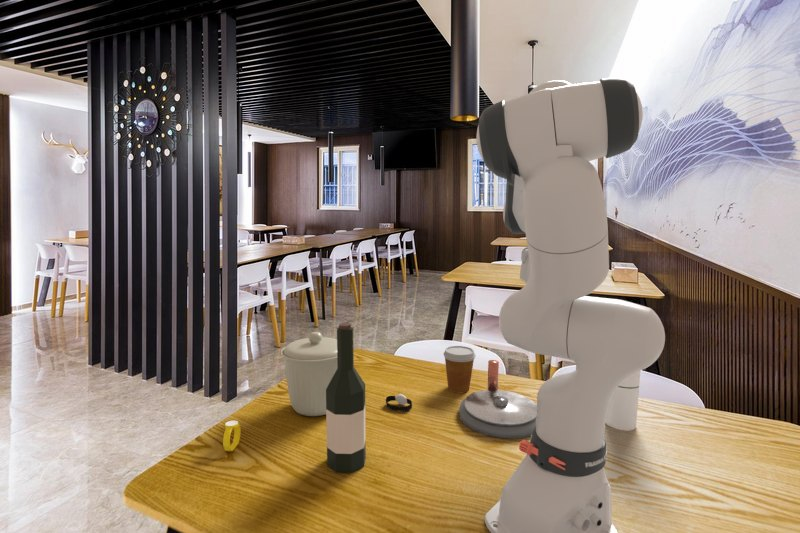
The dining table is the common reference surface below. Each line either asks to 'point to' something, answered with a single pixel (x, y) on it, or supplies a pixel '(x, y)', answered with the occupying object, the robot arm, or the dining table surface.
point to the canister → (310, 372)
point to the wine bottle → (345, 409)
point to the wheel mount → (495, 426)
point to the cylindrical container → (624, 404)
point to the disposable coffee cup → (459, 367)
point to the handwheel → (500, 403)
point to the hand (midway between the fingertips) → (559, 300)
